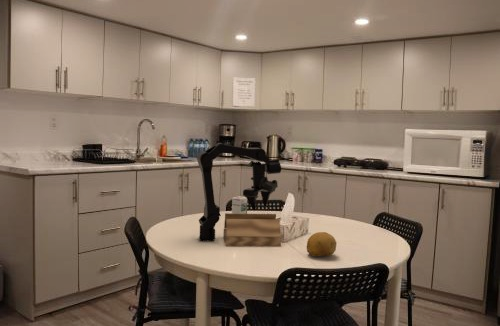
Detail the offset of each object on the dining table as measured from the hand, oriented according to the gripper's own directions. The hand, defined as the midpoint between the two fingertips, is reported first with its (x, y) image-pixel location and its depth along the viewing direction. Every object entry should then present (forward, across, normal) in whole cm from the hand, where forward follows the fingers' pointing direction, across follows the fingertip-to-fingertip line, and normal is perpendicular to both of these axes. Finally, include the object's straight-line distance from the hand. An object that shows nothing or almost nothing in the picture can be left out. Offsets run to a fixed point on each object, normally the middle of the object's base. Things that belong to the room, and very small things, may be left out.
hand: (260, 208), depth 202 cm
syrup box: (+14, +13, +22) cm, 29 cm away
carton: (+13, -10, -2) cm, 17 cm away
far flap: (+5, -5, +2) cm, 8 cm away
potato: (+15, -8, -36) cm, 40 cm away
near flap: (+6, -13, -5) cm, 15 cm away
